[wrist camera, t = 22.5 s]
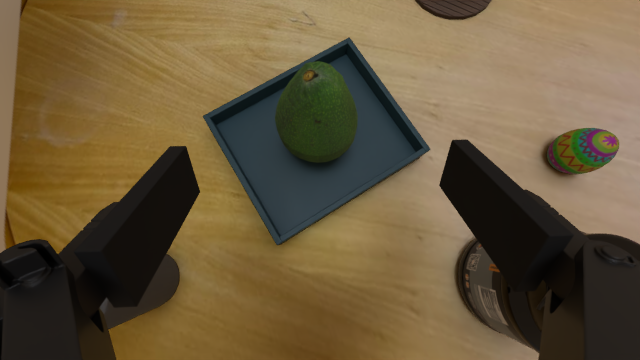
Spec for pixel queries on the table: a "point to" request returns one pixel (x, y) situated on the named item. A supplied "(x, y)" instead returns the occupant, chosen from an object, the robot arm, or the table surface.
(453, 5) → the cans on round base
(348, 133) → the fruit
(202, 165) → the table surface
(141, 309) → the bottle
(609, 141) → the egg
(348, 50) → the tray
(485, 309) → the supplement container
